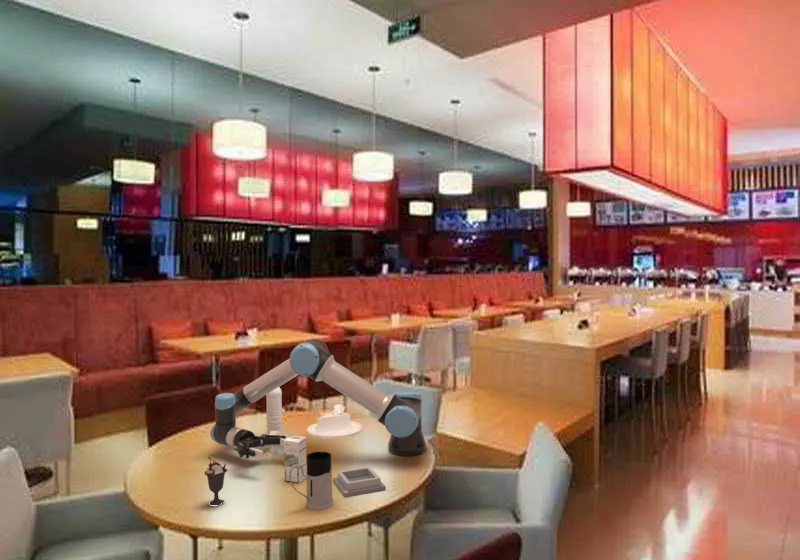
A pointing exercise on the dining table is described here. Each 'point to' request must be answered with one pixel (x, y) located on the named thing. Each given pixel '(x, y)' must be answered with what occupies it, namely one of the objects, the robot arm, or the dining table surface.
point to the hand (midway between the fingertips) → (277, 450)
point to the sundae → (215, 480)
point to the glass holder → (317, 480)
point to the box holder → (358, 482)
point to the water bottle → (274, 410)
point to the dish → (334, 425)
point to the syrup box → (295, 458)
